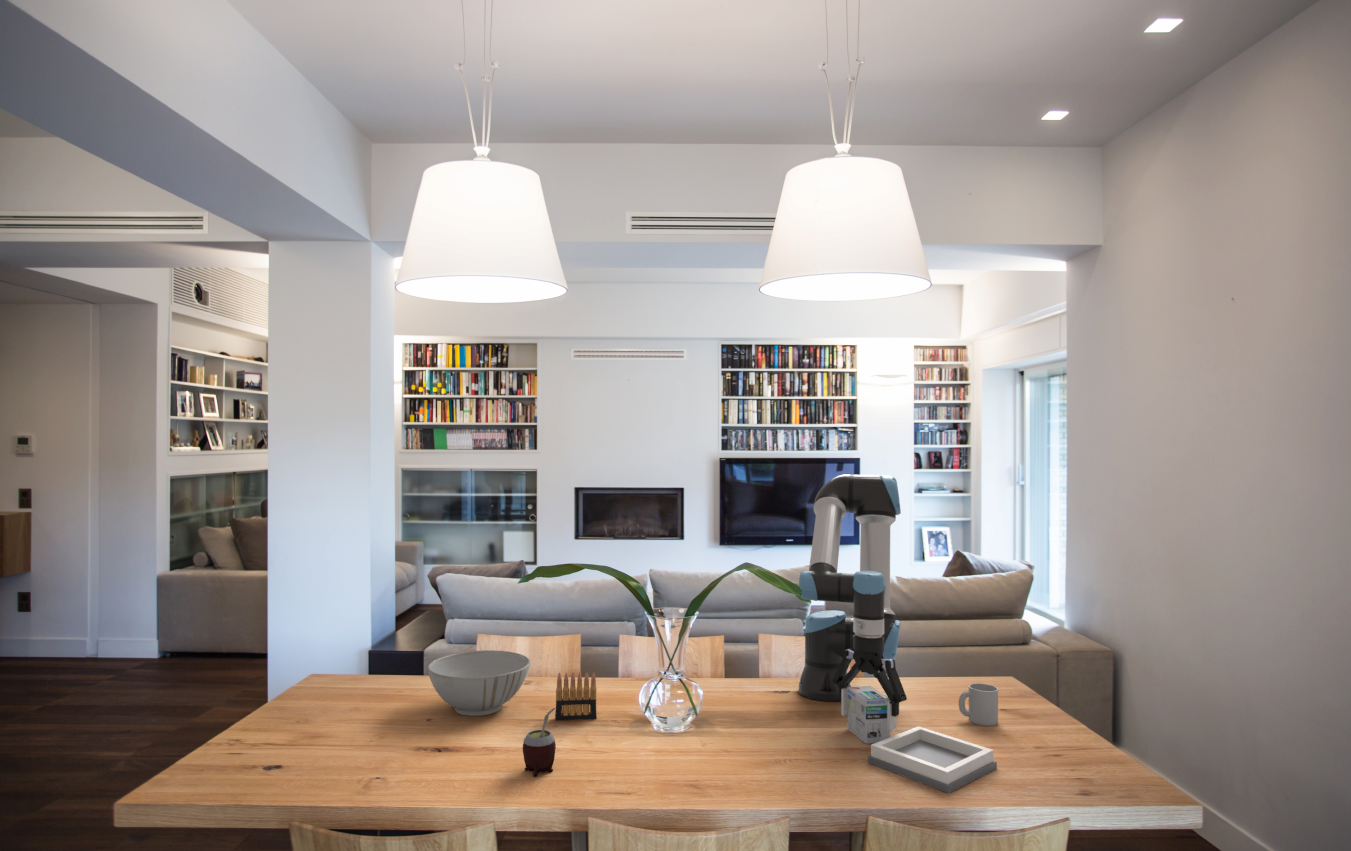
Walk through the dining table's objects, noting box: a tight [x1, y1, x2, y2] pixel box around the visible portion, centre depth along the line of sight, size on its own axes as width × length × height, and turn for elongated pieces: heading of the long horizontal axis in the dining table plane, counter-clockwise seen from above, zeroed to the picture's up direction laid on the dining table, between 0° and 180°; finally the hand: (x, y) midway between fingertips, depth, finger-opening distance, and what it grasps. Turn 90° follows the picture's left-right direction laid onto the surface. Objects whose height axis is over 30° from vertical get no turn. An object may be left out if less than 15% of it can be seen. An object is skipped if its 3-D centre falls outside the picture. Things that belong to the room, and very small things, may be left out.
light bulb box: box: [847, 685, 891, 745], centre depth 192 cm, size 11×7×11 cm, turn 12°
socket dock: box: [867, 725, 998, 794], centre depth 174 cm, size 20×20×4 cm
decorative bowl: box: [427, 649, 531, 717], centre depth 209 cm, size 27×27×12 cm
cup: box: [958, 682, 999, 727], centre depth 203 cm, size 7×10×9 cm
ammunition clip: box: [554, 671, 598, 722], centre depth 202 cm, size 11×2×12 cm, turn 98°
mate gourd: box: [522, 707, 557, 778], centre depth 169 cm, size 8×8×15 cm
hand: (868, 721), depth 192 cm, fingers open, 13 cm apart
